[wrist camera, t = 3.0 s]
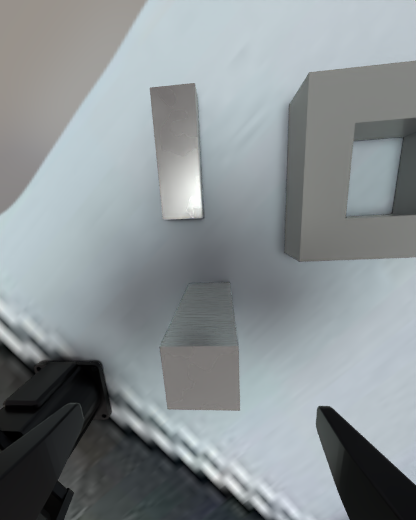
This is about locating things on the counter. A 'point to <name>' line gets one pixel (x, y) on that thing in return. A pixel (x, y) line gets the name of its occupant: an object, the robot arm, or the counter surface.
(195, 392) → the square bit
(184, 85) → the flat bit
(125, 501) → the counter surface
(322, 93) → the bore block
